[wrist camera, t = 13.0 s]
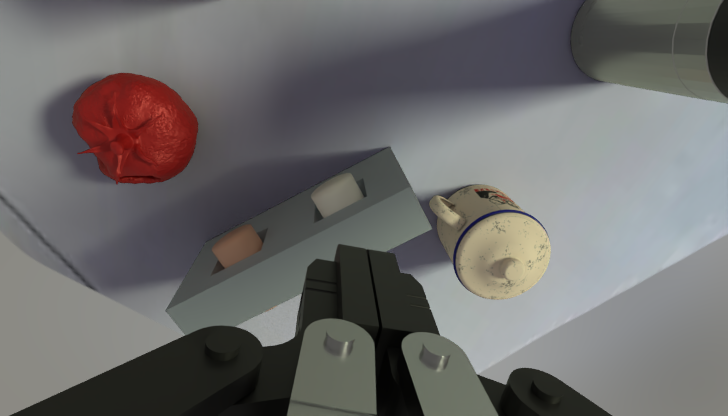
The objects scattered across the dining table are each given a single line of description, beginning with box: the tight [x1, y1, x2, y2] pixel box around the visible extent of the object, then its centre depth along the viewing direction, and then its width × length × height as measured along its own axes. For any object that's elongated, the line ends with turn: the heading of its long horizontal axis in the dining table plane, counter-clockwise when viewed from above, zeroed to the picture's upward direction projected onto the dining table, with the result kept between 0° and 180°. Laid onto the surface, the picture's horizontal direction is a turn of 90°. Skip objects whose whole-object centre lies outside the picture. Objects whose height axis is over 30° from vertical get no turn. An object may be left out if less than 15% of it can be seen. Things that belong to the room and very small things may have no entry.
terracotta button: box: [212, 224, 276, 312], centre depth 42 cm, size 7×4×4 cm, turn 27°
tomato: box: [72, 73, 198, 184], centre depth 40 cm, size 10×10×9 cm
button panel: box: [166, 147, 432, 335], centre depth 43 cm, size 4×22×13 cm, turn 117°
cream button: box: [311, 173, 364, 218], centre depth 41 cm, size 7×4×4 cm, turn 27°
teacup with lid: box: [429, 185, 551, 300], centre depth 45 cm, size 12×9×12 cm
